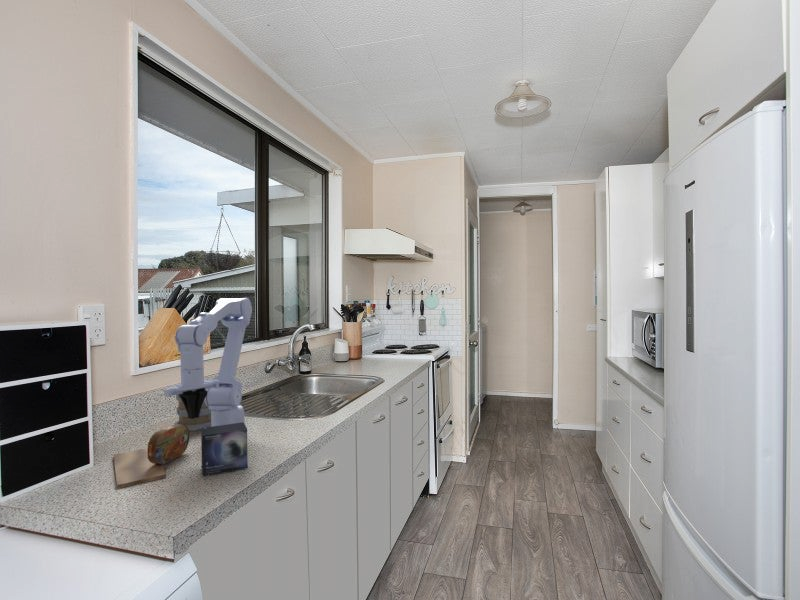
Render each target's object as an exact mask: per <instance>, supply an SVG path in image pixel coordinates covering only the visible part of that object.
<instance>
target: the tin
mask: <svg viewBox="0 0 800 600" xmlns="http://www.w3.org/2000/svg"><path fill="white" fill-rule="evenodd" d="M189 443H190V431H189V429H188V427H187V426H186V425H184V424H182V425H175V424H173V425H170V426H167V427H165V428H163V429H160V430H158V431H155V432H154V433H153V434H152V436H151V437H150V439H149V441H148V442H147V448H148V460H149V461H150V462H151V463H154V464H162V465H165V464H166V463H169V462H171V461H172V460H175V459H176V458H179V457H180V456H182V455H183V454H185V452H186V451H187V447H188V446H189Z"/></svg>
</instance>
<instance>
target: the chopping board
mask: <svg viewBox="0 0 800 600" xmlns="http://www.w3.org/2000/svg"><path fill="white" fill-rule="evenodd" d="M113 462H114V464H113V465H114V472H115V481H116V489H120V488H124V487H129V486H135V485H138V484H139V485H140V484H143V483H147V482H152V481H156V480H160V479H165V478H166V477H167V474H166V471H165V469H164V467H163V464H154V463H151V462H150V461H149V460H148V447H146V448H141V449H135V450H131V451H130V450H129V451H124V452H120V453H115V454H113Z"/></svg>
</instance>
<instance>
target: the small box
mask: <svg viewBox="0 0 800 600" xmlns="http://www.w3.org/2000/svg"><path fill="white" fill-rule="evenodd" d="M200 431H201V432H200V433H201V434H200V436H201V437H200V438H201V440H200V442H201V447H200V448H201V449H200V450H201V470H202V476H203V477H209V476H213V475H214V476H215V475H219V474H225V473H231V472H236V470H237V471H242V469H243V470H247V468H249V465H248V458H249V457H248V427H247V426H246V424H244V422H242V423H235V424H227V425H220V426H213V427H206V428H201V430H200Z"/></svg>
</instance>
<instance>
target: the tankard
mask: <svg viewBox="0 0 800 600" xmlns="http://www.w3.org/2000/svg"><path fill="white" fill-rule="evenodd" d="M205 390H207V389H205ZM175 398H176V399H175V400H176V401H178V406H177V407H176V415H178V420H176V421H175V422H174V425H182V424H184V425H186V426H187V427H188V429H189V432H190V430H191V431H195V430H196V431H201V428H206V427H211V409H209V406H207V405H206V404H205V401H203V404H202V406H201V410H200V414H199V417H198V418H194V419H190V418H188V414H187V411H186V408H185V406H184V404H183V402H182V400H181V398H180V397H179V394H178V395H175ZM196 431H195V432H196Z"/></svg>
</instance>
